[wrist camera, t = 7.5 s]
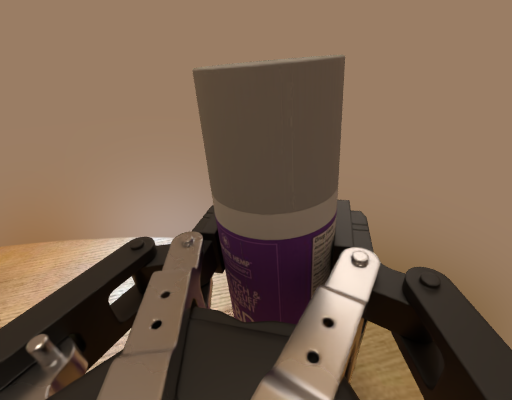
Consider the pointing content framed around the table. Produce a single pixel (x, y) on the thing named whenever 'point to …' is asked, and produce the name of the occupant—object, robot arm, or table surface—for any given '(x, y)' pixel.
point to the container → (273, 177)
